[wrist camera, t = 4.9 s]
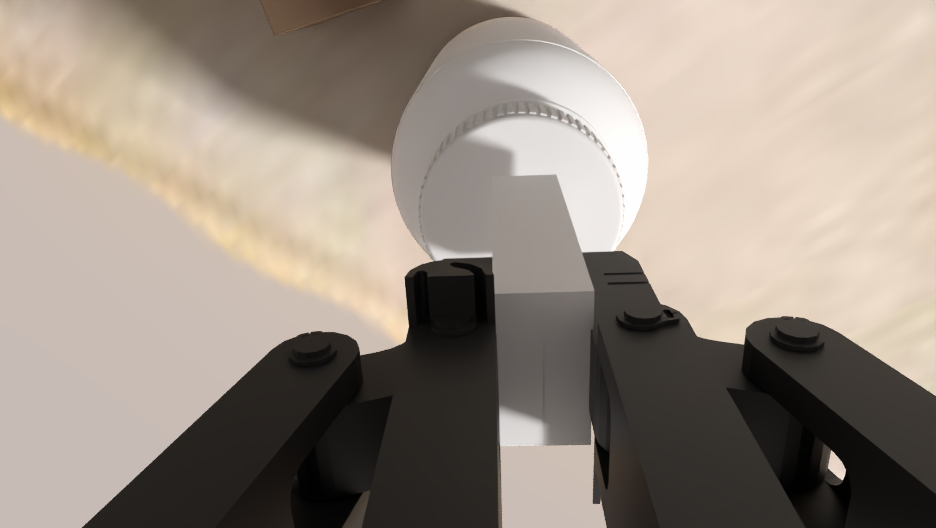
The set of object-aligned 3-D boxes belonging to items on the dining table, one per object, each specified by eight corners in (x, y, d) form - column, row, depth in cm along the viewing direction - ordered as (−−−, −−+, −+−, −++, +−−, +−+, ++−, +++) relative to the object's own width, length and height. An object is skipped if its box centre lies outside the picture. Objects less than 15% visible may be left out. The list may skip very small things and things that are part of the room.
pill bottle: (446, 210, 33) (412, 375, 19) (402, 39, 30) (325, 91, 16) (610, 174, 32) (699, 322, 18) (581, -5, 29) (661, 10, 15)
